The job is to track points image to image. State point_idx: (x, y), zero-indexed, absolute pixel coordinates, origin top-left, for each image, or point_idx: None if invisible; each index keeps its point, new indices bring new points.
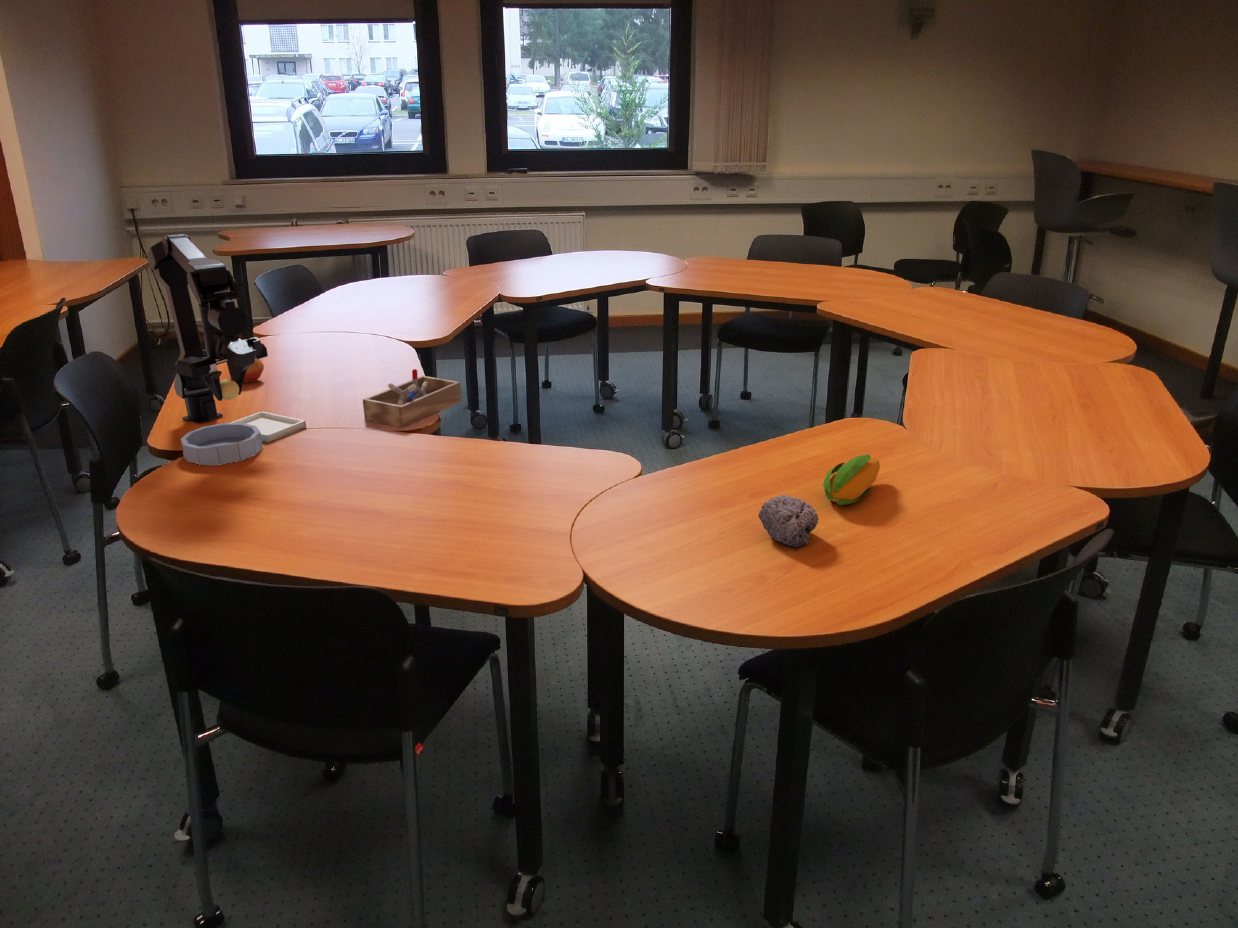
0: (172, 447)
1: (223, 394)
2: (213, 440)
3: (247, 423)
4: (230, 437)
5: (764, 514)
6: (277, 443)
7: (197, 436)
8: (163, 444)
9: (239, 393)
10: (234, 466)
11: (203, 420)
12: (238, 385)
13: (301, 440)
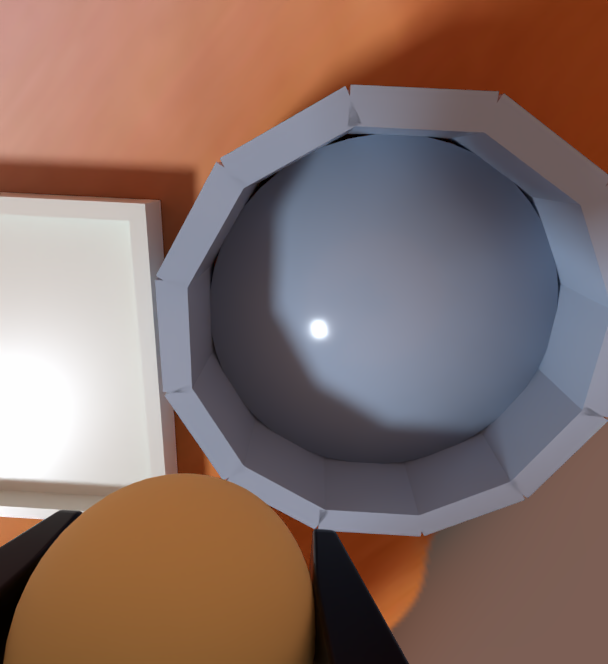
0: (420, 547)
1: (302, 567)
2: (313, 444)
3: (58, 477)
4: (243, 404)
5: None
6: (140, 138)
7: (389, 491)
8: (406, 595)
9: (72, 517)
10: (538, 78)
11: None
12: (4, 606)
13: (19, 28)
